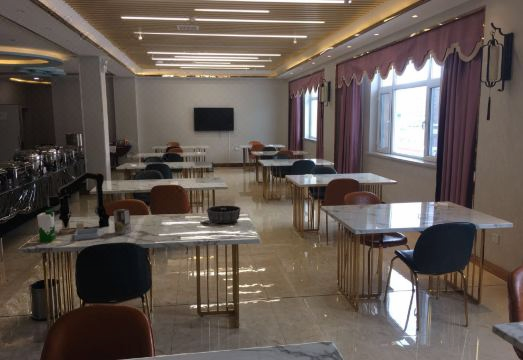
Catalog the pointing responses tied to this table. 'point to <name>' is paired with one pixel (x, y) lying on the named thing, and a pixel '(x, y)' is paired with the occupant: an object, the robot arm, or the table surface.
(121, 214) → the coffee box
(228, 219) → the bundt pan
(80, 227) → the stone
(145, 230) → the table surface
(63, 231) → the walnut caddy
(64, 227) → the tan rectangular block
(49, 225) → the milk carton
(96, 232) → the slate bin
